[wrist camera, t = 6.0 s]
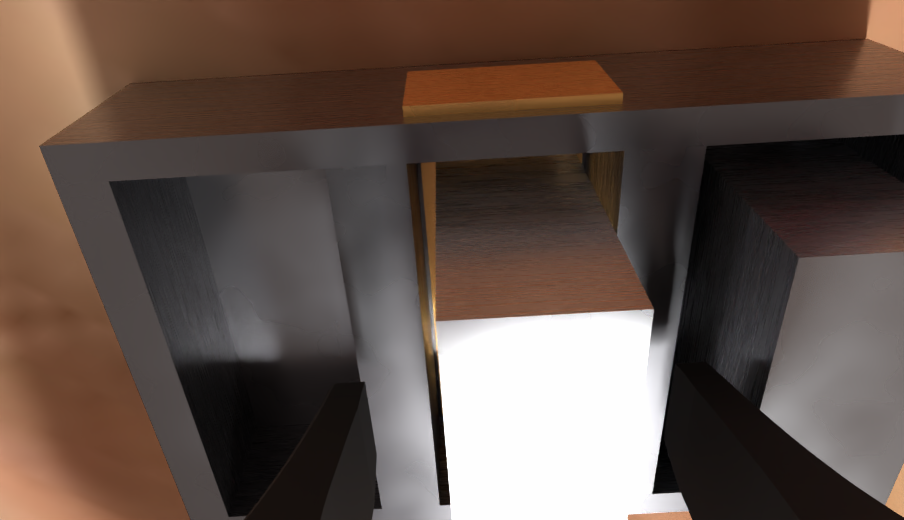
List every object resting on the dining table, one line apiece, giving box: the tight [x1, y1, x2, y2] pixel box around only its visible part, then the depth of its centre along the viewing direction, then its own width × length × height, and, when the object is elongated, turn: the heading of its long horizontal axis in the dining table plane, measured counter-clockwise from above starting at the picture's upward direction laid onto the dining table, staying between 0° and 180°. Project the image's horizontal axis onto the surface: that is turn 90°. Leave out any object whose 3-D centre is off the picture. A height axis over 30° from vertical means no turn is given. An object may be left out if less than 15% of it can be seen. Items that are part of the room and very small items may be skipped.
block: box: [435, 154, 654, 520], centre depth 14 cm, size 8×3×7 cm, turn 3°
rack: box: [39, 39, 904, 520], centre depth 15 cm, size 11×17×7 cm, turn 93°
